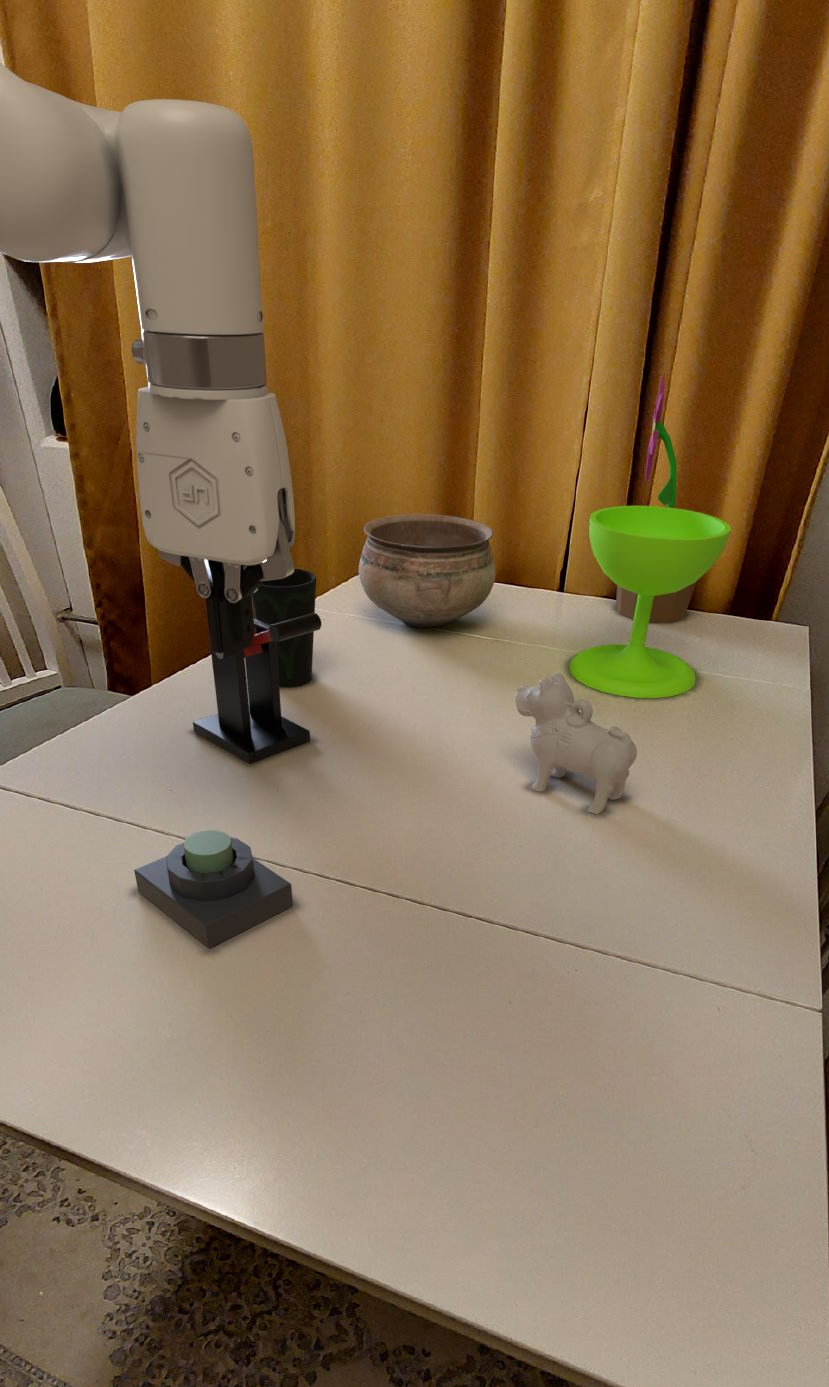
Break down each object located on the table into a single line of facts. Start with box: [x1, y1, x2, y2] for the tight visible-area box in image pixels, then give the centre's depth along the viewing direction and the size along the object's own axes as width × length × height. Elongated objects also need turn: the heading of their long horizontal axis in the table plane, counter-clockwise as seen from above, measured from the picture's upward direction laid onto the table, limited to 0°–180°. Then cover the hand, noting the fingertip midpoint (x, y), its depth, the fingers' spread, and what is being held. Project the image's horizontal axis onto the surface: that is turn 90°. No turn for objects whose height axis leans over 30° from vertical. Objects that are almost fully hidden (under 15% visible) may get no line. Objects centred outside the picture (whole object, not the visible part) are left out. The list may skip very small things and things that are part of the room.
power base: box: [133, 836, 294, 949], centre depth 69 cm, size 10×8×4 cm
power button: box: [183, 829, 233, 873], centre depth 68 cm, size 4×4×2 cm
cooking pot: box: [358, 513, 497, 629], centre depth 122 cm, size 25×19×12 cm
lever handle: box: [244, 612, 322, 658], centre depth 85 cm, size 12×5×2 cm, turn 45°
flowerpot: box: [615, 374, 698, 623], centre depth 122 cm, size 14×14×30 cm
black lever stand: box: [192, 617, 311, 764], centre depth 90 cm, size 10×8×12 cm
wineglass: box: [568, 505, 732, 699], centre depth 106 cm, size 16×16×18 cm
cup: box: [251, 567, 317, 688], centre depth 103 cm, size 8×8×12 cm
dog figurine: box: [515, 672, 638, 815], centre depth 84 cm, size 5×13×11 cm, turn 51°
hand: (233, 648), depth 67 cm, fingers closed
